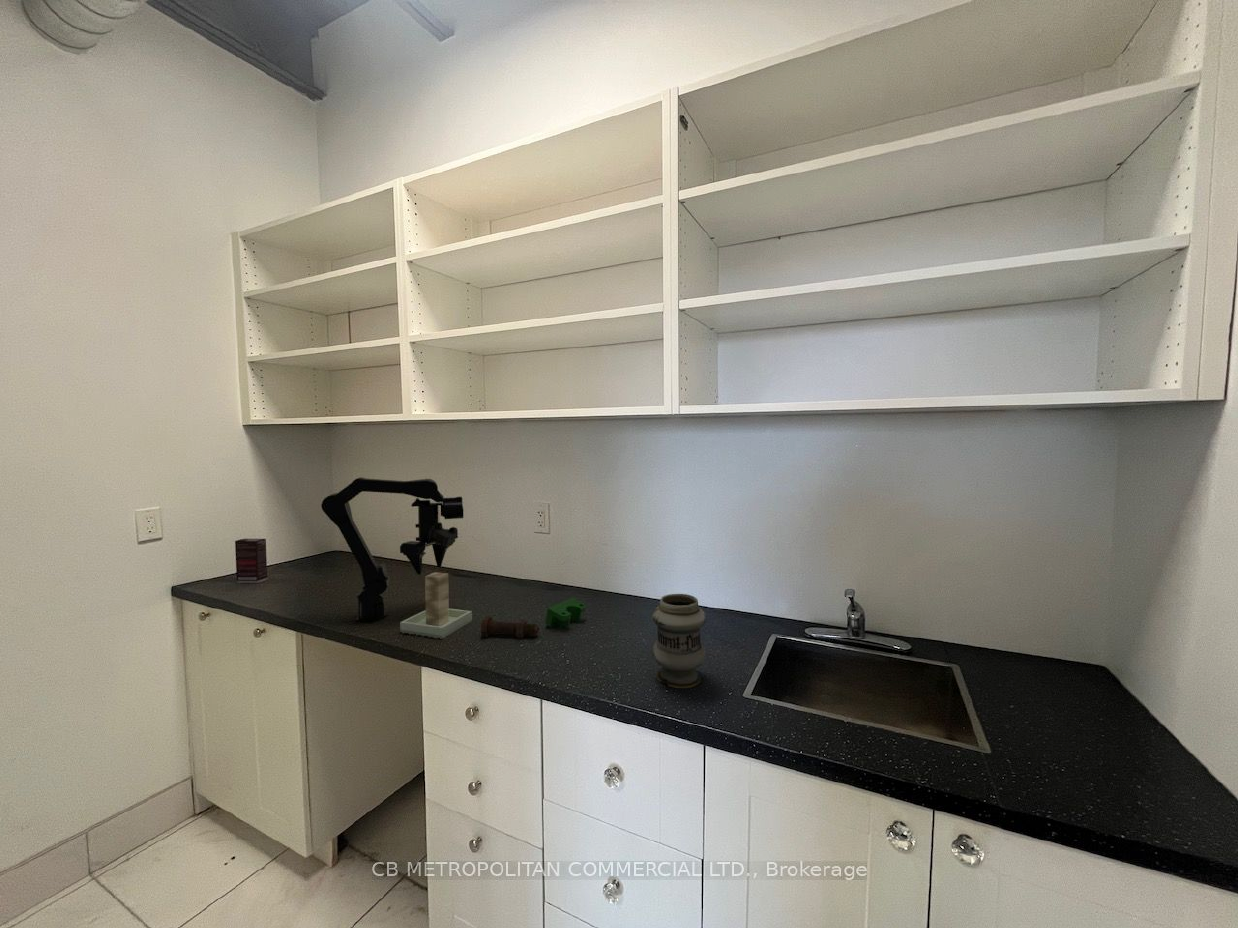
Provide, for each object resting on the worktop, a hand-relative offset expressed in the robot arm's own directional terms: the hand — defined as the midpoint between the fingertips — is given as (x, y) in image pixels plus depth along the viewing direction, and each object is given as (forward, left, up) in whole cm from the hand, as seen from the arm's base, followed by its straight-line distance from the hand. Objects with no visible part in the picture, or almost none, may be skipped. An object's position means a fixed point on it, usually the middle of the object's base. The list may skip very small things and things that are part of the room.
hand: (429, 570), depth 150 cm
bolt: (+33, -9, -14) cm, 37 cm away
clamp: (+44, +4, -13) cm, 46 cm away
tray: (+10, -9, -13) cm, 19 cm away
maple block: (+10, -9, -12) cm, 18 cm away
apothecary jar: (+81, -18, -13) cm, 84 cm away
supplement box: (-85, +7, -13) cm, 86 cm away
